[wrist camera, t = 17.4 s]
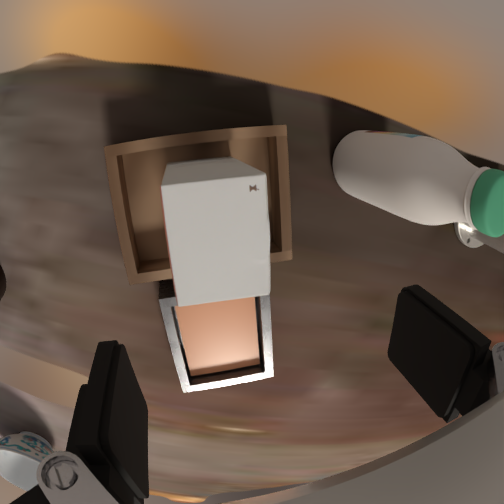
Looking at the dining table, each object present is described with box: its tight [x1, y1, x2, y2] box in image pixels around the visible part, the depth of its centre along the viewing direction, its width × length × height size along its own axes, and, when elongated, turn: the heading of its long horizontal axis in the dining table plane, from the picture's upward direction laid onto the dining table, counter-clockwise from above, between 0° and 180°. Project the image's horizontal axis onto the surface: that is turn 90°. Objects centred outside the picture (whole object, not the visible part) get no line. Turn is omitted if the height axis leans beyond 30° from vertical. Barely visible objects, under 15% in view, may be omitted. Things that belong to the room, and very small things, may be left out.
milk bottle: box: [332, 130, 504, 237], centre depth 25 cm, size 8×8×20 cm
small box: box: [160, 156, 270, 307], centre depth 25 cm, size 8×6×13 cm
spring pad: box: [175, 297, 260, 376], centre depth 36 cm, size 8×10×1 cm
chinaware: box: [0, 431, 54, 491], centre depth 35 cm, size 15×15×8 cm
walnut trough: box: [104, 125, 292, 285], centre depth 30 cm, size 16×13×4 cm
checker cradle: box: [159, 280, 274, 393], centre depth 36 cm, size 11×13×4 cm
